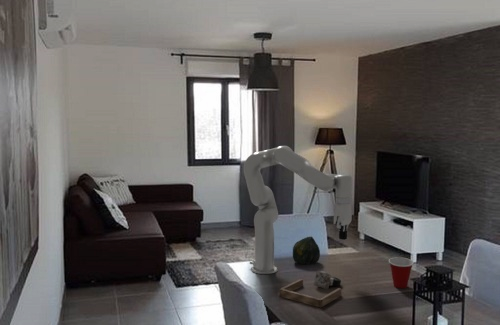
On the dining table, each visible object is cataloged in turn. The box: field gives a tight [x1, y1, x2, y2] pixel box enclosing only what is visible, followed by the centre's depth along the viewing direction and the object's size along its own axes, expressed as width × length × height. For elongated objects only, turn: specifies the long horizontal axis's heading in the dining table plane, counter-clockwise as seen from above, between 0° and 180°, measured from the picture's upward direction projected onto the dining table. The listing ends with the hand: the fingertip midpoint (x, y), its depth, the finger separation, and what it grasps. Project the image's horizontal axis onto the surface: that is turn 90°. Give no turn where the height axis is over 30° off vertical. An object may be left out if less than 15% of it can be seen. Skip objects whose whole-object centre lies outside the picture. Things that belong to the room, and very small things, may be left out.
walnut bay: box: [278, 278, 342, 308], centre depth 198 cm, size 20×17×3 cm
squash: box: [292, 236, 321, 265], centre depth 246 cm, size 14×15×15 cm
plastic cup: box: [388, 256, 415, 289], centre depth 209 cm, size 11×11×12 cm
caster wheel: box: [313, 270, 342, 290], centre depth 211 cm, size 7×11×10 cm
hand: (342, 238), depth 220 cm, fingers closed
